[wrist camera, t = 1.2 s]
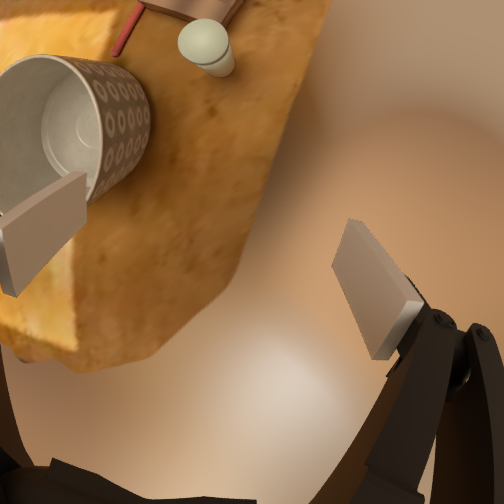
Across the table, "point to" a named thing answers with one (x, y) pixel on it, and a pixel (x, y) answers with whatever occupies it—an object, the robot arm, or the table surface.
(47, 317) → the table surface
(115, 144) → the planter
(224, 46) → the banded green cylinder
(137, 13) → the red rod
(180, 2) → the square wooden socket block
